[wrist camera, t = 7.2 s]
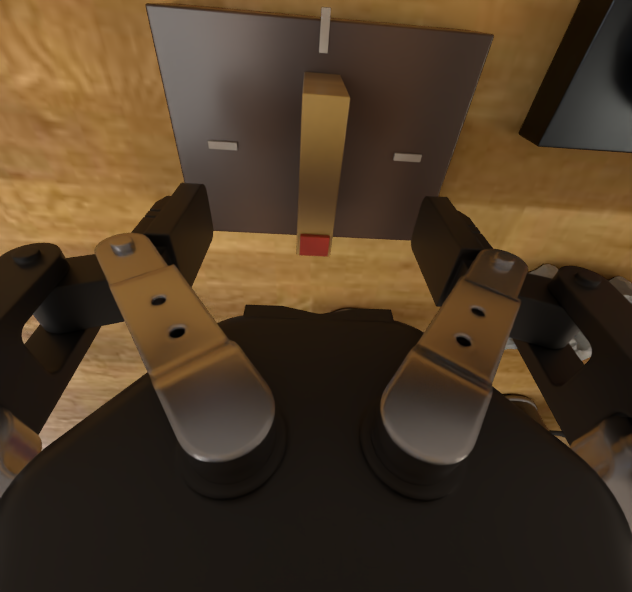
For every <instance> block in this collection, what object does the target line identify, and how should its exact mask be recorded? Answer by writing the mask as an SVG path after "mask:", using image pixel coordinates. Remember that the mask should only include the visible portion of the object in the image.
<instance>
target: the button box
mask: <svg viewBox="0 0 632 592" xmlns="http://www.w3.org/2000/svg"><path fill="white" fill-rule="evenodd" d="M519 135H521V136H522V137H524V138H525V139H527V140H529V141H530V142H532V143H534V144H535V145H537V146H539V147H553V148H568V149H582V150H597V151H611V152H626V153H632V0H581V1H580V3H579V5H578V7H577V10H576V12H575V14H574V16H573V18H572V20H571V22H570V25H569V27H568V29H567V31H566V33H565V35H564V37H563V40H562V42H561V44H560V46H559V48H558V50H557V52H556V55H555V57H554V59H553V61H552V63H551V65H550V67H549V70H548V72H547V74H546V76H545V78H544V80H543V82H542V85H541V87H540V89H539V91H538V93H537V95H536V97H535V100H534V102H533V104H532V106H531V108H530V110H529V112H528V115H527V117H526V119H525V121H524V123H523V125H522V127H521V130H520V132H519Z"/></svg>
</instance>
